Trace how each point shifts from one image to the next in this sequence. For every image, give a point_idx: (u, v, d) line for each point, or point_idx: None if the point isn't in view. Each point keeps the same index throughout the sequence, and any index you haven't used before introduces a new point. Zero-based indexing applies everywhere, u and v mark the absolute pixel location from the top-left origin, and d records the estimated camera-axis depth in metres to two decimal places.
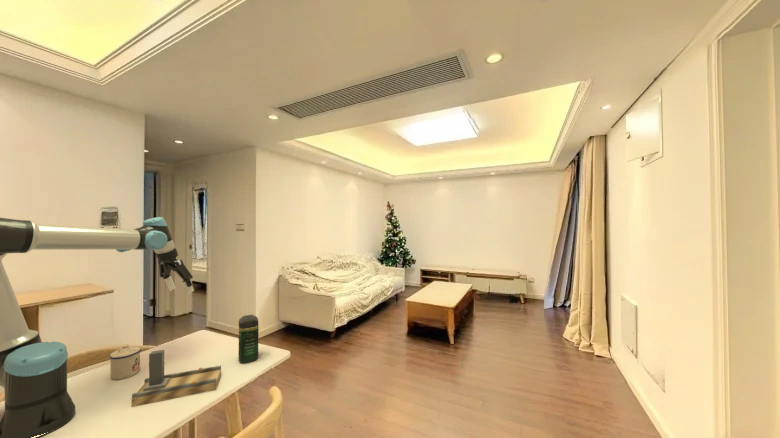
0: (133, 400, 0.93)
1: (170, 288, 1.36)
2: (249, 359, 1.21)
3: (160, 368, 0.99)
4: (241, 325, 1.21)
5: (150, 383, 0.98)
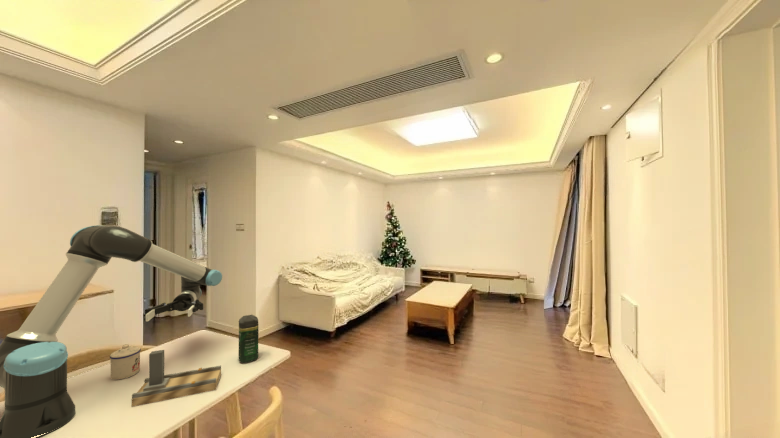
0: (133, 400, 0.93)
1: (149, 314, 1.09)
2: (249, 359, 1.21)
3: (160, 368, 0.99)
4: (241, 325, 1.21)
5: (150, 383, 0.98)
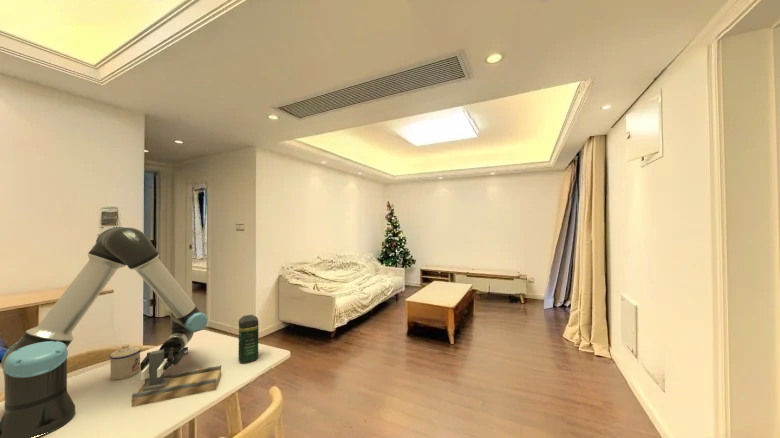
0: (133, 400, 0.93)
1: (145, 371, 0.95)
2: (249, 359, 1.21)
3: None
4: (241, 325, 1.21)
5: (150, 383, 0.98)
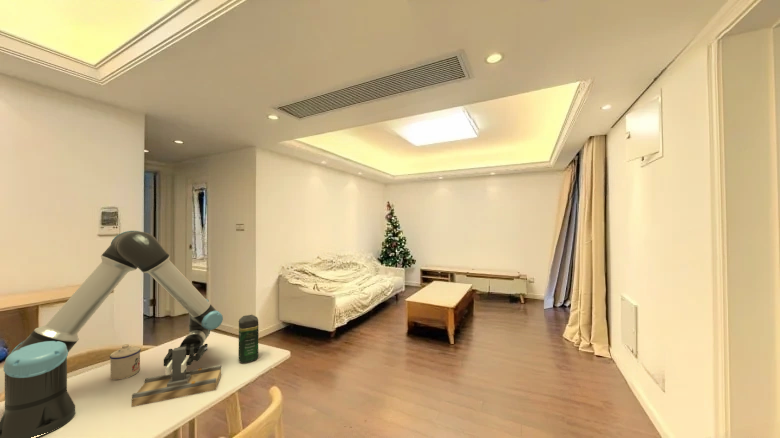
0: (133, 400, 0.93)
1: (169, 366, 0.98)
2: (249, 359, 1.21)
3: None
4: (241, 325, 1.21)
5: (173, 379, 1.01)
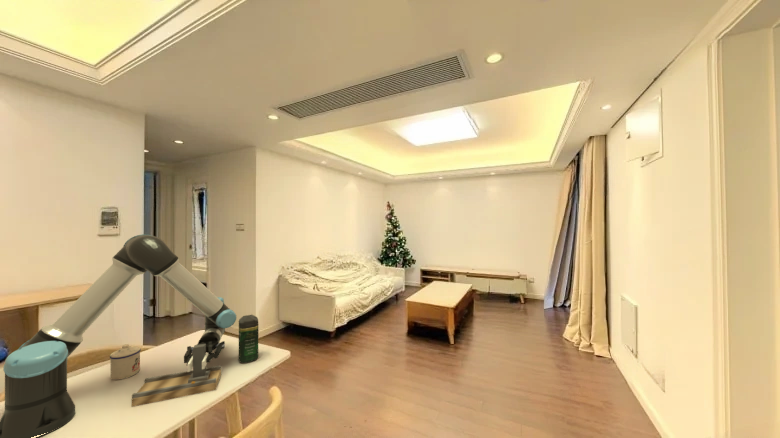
0: (133, 400, 0.93)
1: (190, 363, 1.00)
2: (249, 359, 1.21)
3: None
4: (241, 325, 1.21)
5: (194, 375, 1.03)
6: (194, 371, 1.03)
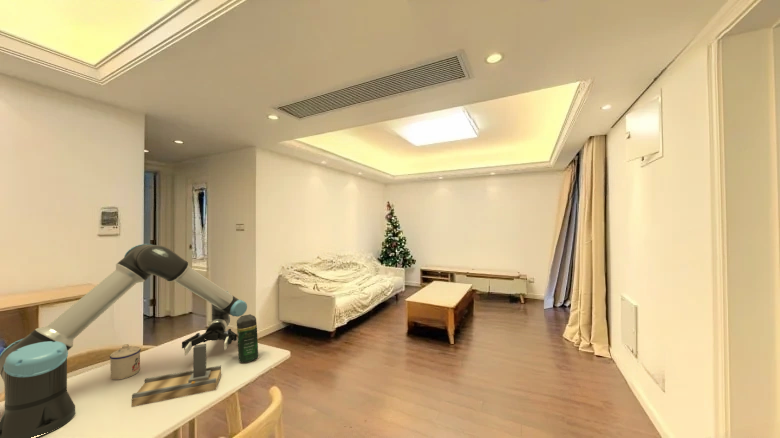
0: (133, 400, 0.93)
1: (187, 348, 1.12)
2: (249, 359, 1.21)
3: (203, 361, 1.04)
4: (239, 325, 1.20)
5: (194, 375, 1.03)
6: (194, 371, 1.03)
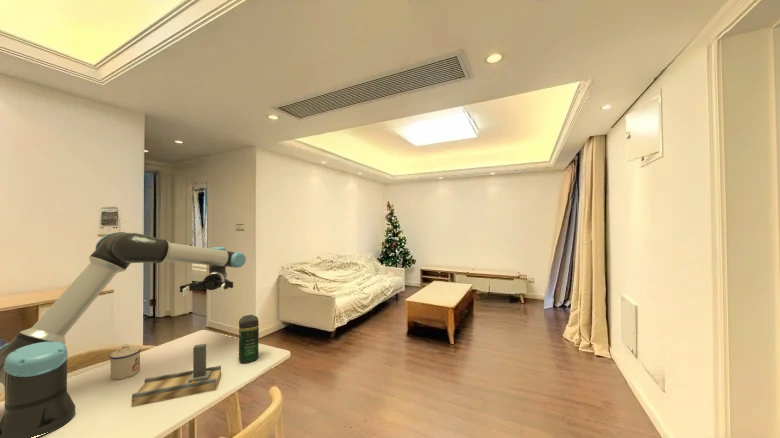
0: (133, 400, 0.93)
1: (185, 289, 1.16)
2: (249, 359, 1.21)
3: (203, 361, 1.04)
4: (241, 325, 1.21)
5: (194, 375, 1.03)
6: (194, 371, 1.03)
